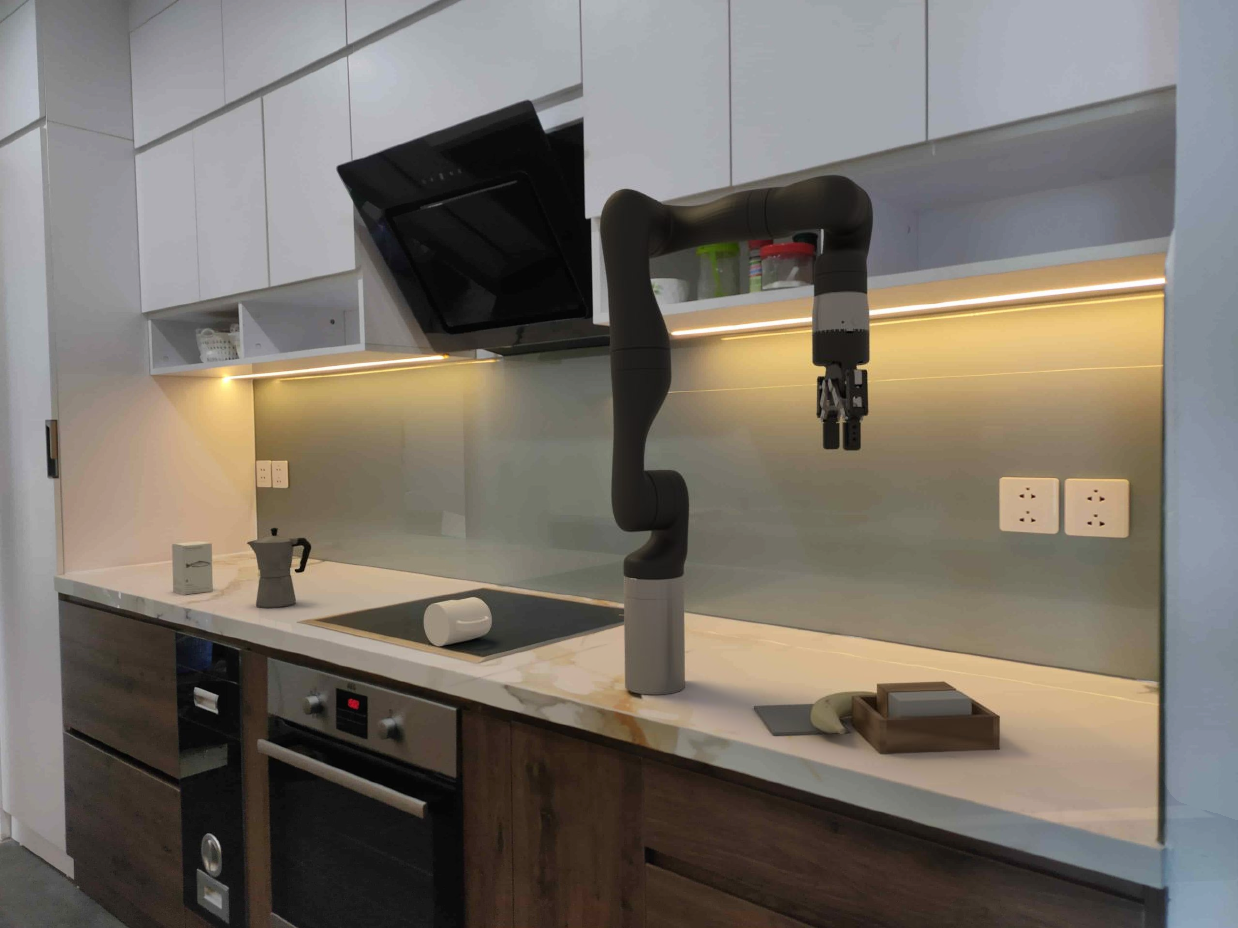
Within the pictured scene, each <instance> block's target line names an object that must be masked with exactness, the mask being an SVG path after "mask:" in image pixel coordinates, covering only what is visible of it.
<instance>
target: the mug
mask: <svg viewBox="0 0 1238 928" xmlns="http://www.w3.org/2000/svg"><path fill="white" fill-rule="evenodd" d="M492 623H493V619H492V613H491V610H490V607H489V606H488V605H487V604H486V602H484V601H483V600H482V599H481V598H478V597H475V596H474V597H467V598H462V599H450V600H444V601H440V602H436V603H435V602H434V603H431V604H430V605H428V607H426V609H425V612H424V615H423V628H424V631H425V635H426V637H427V639H428V640H429V641H430V643H431V644H432V645H434V646H436V647H443V646H447V645H453V644H456V643H462V642H467V641H472V640H474V639H477V638H480V637H483V636H485V635H486V634H488V632H489V631H490V629H491V628H492Z"/></svg>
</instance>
